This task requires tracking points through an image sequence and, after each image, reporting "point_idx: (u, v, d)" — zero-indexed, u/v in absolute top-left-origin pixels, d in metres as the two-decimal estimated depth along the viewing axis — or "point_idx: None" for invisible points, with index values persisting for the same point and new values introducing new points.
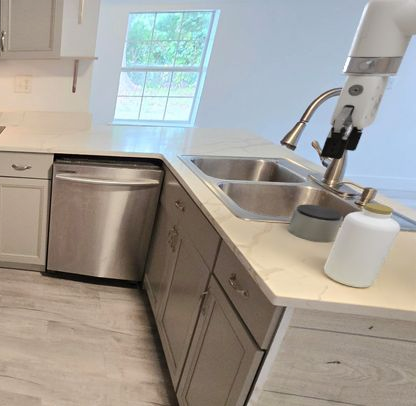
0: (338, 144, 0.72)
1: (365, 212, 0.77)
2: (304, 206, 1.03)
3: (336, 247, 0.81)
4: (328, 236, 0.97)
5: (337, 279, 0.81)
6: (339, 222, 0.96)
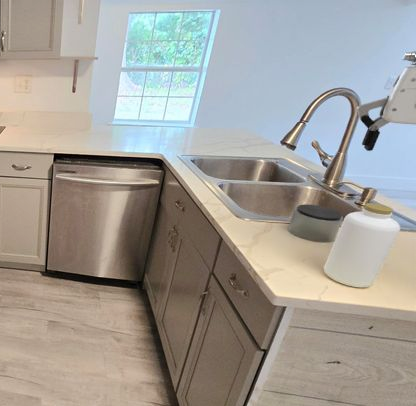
0: (367, 134, 0.73)
1: (365, 212, 0.77)
2: (304, 206, 1.03)
3: (336, 247, 0.81)
4: (328, 236, 0.97)
5: (337, 279, 0.81)
6: (339, 222, 0.96)
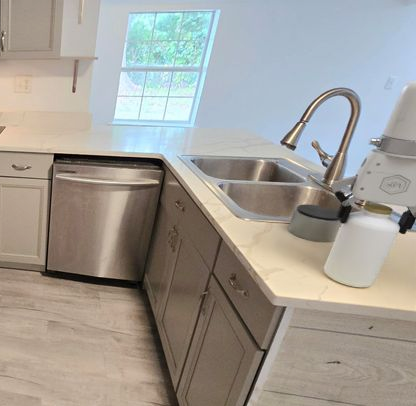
0: (341, 208, 0.79)
1: (365, 212, 0.77)
2: (304, 206, 1.03)
3: (336, 247, 0.81)
4: (328, 236, 0.97)
5: (337, 279, 0.81)
6: (339, 222, 0.96)
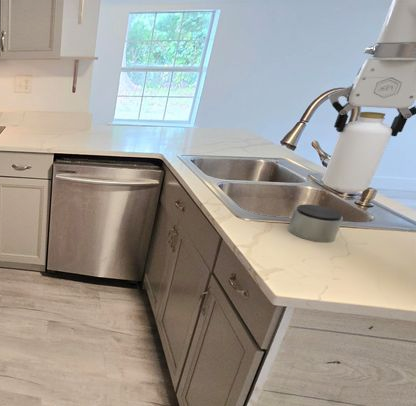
0: (338, 118, 0.86)
1: (360, 119, 0.83)
2: (304, 206, 1.03)
3: (334, 156, 0.88)
4: (328, 236, 0.97)
5: (335, 186, 0.88)
6: (339, 222, 0.96)
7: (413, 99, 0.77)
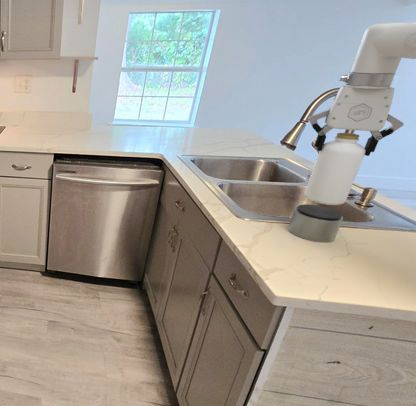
0: (317, 138, 0.94)
1: (337, 139, 0.92)
2: (304, 206, 1.03)
3: (314, 173, 0.96)
4: (328, 236, 0.97)
5: (315, 199, 0.97)
6: (339, 222, 0.96)
7: (383, 123, 0.85)
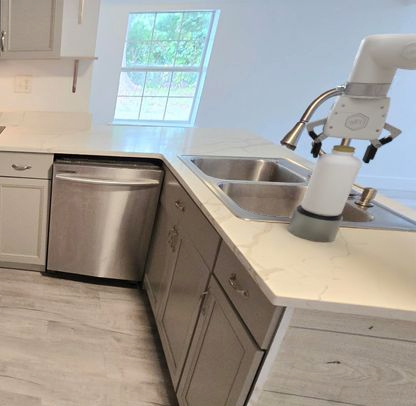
0: (313, 145, 0.95)
1: (333, 152, 0.93)
2: None
3: (311, 184, 0.98)
4: (328, 236, 0.97)
5: (311, 210, 0.98)
6: (339, 222, 0.96)
7: (379, 132, 0.86)
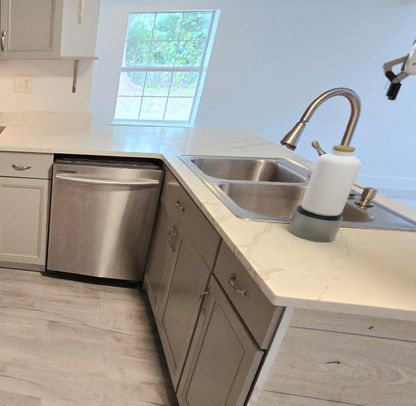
0: (391, 87, 0.88)
1: (333, 152, 0.93)
2: None
3: (311, 184, 0.98)
4: (328, 236, 0.97)
5: (311, 210, 0.98)
6: (339, 222, 0.96)
7: None
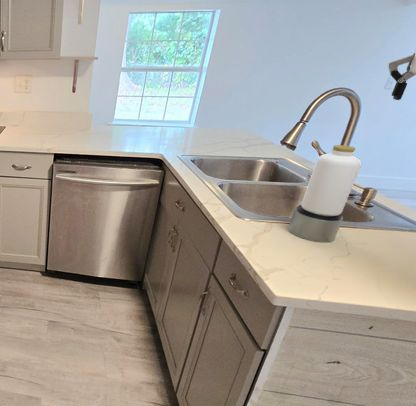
0: (396, 86, 0.88)
1: (333, 152, 0.93)
2: None
3: (311, 184, 0.98)
4: (328, 236, 0.97)
5: (311, 210, 0.98)
6: (339, 222, 0.96)
7: None
